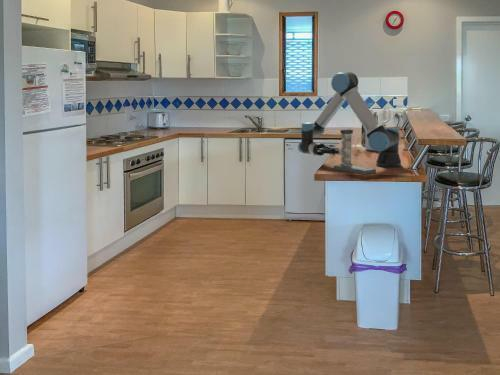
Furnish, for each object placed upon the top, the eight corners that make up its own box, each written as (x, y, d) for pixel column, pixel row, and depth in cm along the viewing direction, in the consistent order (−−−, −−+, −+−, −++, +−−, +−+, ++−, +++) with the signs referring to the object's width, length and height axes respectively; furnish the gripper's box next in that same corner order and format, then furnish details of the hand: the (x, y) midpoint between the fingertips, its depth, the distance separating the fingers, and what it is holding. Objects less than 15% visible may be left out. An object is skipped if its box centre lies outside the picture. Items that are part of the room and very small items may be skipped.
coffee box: (360, 145, 547) (361, 124, 544) (367, 145, 551) (367, 124, 548) (369, 146, 540) (369, 125, 537) (375, 146, 543) (375, 125, 540)
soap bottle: (370, 148, 526) (371, 114, 522) (381, 149, 521) (382, 115, 517) (364, 150, 520) (365, 115, 515) (375, 151, 514) (376, 115, 510)
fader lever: (340, 165, 425) (340, 129, 422) (346, 164, 428) (346, 129, 425) (346, 166, 421) (346, 130, 418) (352, 165, 424) (352, 130, 421)
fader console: (333, 169, 427) (333, 165, 427) (344, 167, 433) (344, 164, 432) (364, 174, 407) (364, 170, 406) (375, 172, 412) (376, 168, 411)
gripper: (325, 154, 449) (351, 157, 430) (309, 155, 441) (335, 159, 422) (325, 142, 447) (351, 145, 428) (309, 143, 440) (335, 147, 421)
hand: (343, 152), depth 425 cm, fingers closed
